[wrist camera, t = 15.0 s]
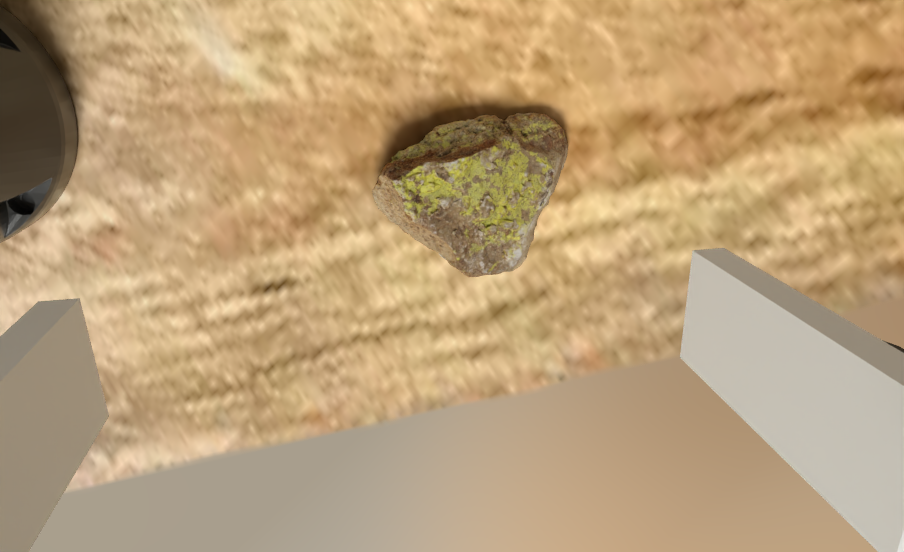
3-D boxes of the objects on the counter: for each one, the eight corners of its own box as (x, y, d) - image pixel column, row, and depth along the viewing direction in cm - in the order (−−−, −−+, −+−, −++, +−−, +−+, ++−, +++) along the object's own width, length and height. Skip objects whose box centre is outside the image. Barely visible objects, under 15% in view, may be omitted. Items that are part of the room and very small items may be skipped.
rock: (367, 200, 45) (456, 315, 44) (357, 173, 38) (462, 309, 37) (509, 95, 46) (597, 205, 46) (525, 51, 39) (629, 180, 39)
